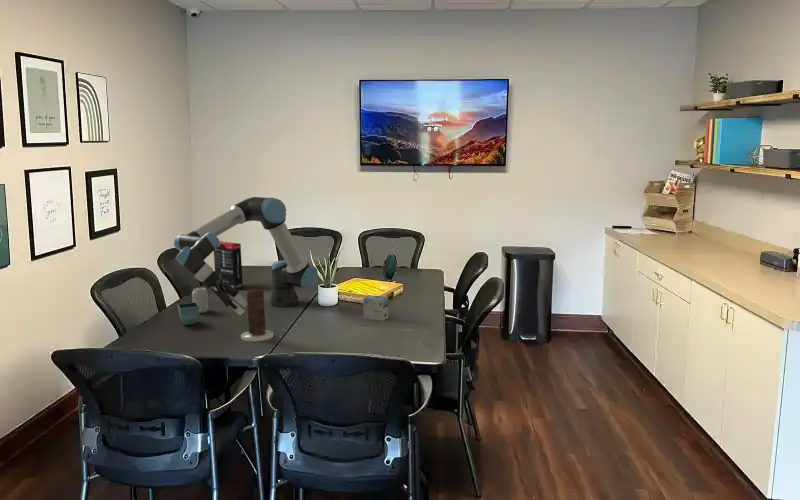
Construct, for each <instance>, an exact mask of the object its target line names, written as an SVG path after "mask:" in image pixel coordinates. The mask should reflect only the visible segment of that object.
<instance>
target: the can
mask: <svg viewBox="0 0 800 500" xmlns="http://www.w3.org/2000/svg"><path fill="white" fill-rule="evenodd" d="M208 292H209V291H208V290H207V287H195V288H193V290H192V292H191V296H192V298H191V300H192V303H193V302H196V303H197V304H198V305H199V314H204V313H207V312H208V311H209V296H208Z"/></svg>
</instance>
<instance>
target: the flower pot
mask: <svg viewBox="0 0 800 500" xmlns="http://www.w3.org/2000/svg"><path fill="white" fill-rule="evenodd" d="M176 306H177V312H178V315H179V318H180V320H181V321H182V323H183V324H184V325H185V326H187V325H195V324H197V322H198V320H199V317H200V313H199V305H198V304H197V303H196V302H193V301H192V302H186V303H179V304H178V303H177V304H176Z"/></svg>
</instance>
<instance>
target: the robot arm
mask: <svg viewBox="0 0 800 500" xmlns="http://www.w3.org/2000/svg"><path fill="white" fill-rule="evenodd" d="M284 203H285V202H283V200H281V199H278V198H275V197H263V196H261V197H258V196H253V197H250V198H246V199H244V200H242V201H240V202H238V203H236V204H234V205H232V206H231V207H230V210H227V211H226V212H224V213H222V214H220V215H219V216H217V217H215V218H214V219H212V220H210V221H208V222H206V223H204V224H203V225H200V226H198V227H197V228H196V229H194V230H192V231H190V232H188V233H186V234H178V235H177V236H176V237H175V238H174V242H173V245H174V247H175V249H176V250H177V251H179V252H178V253H177V255H176V256H175V259H176V261H177V262H178V263H179V265H181V266H182V267H183V268H184V269H186V271H188V272H189V273H190V274H191V275H192V276H193V277H194V279H195V280H198V281H199V282H201V283H202V285H203V286H205V288H206V289H210V288H211V287H212V288H211V291H212V292H214V294H215V295H217V298H218V299H220V300H221V301H222V303H223V304H224V305H225V307H226V308H227V307H230V309H232V310H233V311H234V312H235V313H236V314H237V315H238V316H242V315H243V314H244V313H245V310H244V309H246V308H247V299H245V297H243V296H242V295H240V294H239V292H240V291H239V290H238V289H237V290H236V289H234V288H233V287H231V286H230V285H228V284H227V283H225V282H224V281H223V280H222V279H220V280H218V279H219V278H220V275H219V274H218V273H217V272H216V271H215V270H214V269H213V267H211V266H210V264H208V263H207V262H206V261H205V260H206V259H207V258H208V257H209V256H210V255H211V254H212V253H214V250H215V249H216V248H217V246H218V245H219V243H220V242H219V241H220V239H219V238H218V236H220V235H221V234H223V233H225V232H226V231H228V230H230V229H232V228H234V227H236V226H237V225H243V224H244V223H246V222H247V223H248V222H251V221H252V222H253V221H254V222H260V224H261V225H262V227H263V229H264V230H266V231H267V230H268V232H269V234H270V235H271V237H272V239H273V241H274V243H275V245H276V247H277V248H278V251H279V253H280V254H281V256H282V258H283V259H282V260H277V261H274V262H273V263H272V264H271V279H272V281H271V282H272V291H271V295H270V298H269V305H270V306H273V307H277V308H279V307H283V308H284V307H292V306H297V305H298V304H299V303H300V298H299V295H298V292H297V291H296V290H297V289H296V287H297V288H302V289H311V288H312V287H313V286H314V285H315V284H316V283H317V281H318V278H319V272H318V269H317V267H316V266H314V265H311V264H310V263H309V261H308V259H307V258H306V257H303V256H302V254H301V252H300V250H299V247H298V246H297V244H296V242H295V240H294V238H293V236H292V234H291V231H290V230H289V229H288V227H287V224H286V219H287V218H286V217H287V213H286V212H287V208H286V205H285V204H284ZM230 296H231V297H233V299H234V300H235V301H234V300H232V299H231V297H230ZM236 302H238V303H239V304H240V305H241V306H240V305H239V304H237V303H236ZM242 307H243V308H244V309H243V308H242Z"/></svg>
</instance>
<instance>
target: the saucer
mask: <svg viewBox="0 0 800 500" xmlns="http://www.w3.org/2000/svg"><path fill="white" fill-rule="evenodd" d="M274 335H275V334H274V332H273V331H272V330H270V329H269V330H268V329H266V334H258V335H254V334H250V333H249V330H248V331H244V332H243V333H241V335H240V339H241V340H242V341H244V342H250V343H252V342H253V343H254V342H255V343H256V342H263V341H268V340H271V339H273V338H274Z"/></svg>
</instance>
